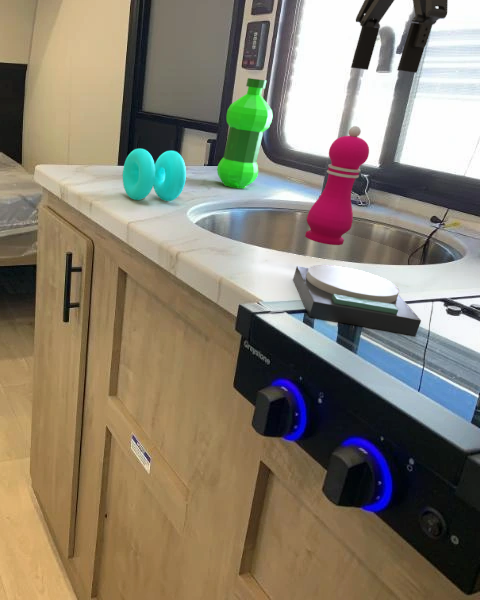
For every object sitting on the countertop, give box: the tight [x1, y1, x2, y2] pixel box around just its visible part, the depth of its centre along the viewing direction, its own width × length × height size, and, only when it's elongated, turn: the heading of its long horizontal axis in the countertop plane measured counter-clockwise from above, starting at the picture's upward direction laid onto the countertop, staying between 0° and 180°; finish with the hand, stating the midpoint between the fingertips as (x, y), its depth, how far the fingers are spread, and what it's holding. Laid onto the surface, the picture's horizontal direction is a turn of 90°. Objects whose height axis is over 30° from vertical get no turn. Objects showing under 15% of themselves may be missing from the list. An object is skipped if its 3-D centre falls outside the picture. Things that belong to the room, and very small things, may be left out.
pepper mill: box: [304, 125, 370, 246], centre depth 100 cm, size 7×7×20 cm
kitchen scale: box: [292, 264, 422, 337], centre depth 76 cm, size 12×14×3 cm
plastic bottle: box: [216, 77, 273, 189], centre depth 144 cm, size 10×10×25 cm
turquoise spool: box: [122, 147, 187, 202], centre depth 119 cm, size 10×10×10 cm
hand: (381, 70), depth 96 cm, fingers open, 13 cm apart
